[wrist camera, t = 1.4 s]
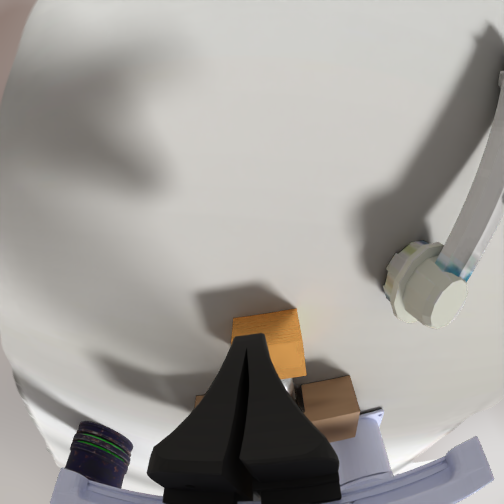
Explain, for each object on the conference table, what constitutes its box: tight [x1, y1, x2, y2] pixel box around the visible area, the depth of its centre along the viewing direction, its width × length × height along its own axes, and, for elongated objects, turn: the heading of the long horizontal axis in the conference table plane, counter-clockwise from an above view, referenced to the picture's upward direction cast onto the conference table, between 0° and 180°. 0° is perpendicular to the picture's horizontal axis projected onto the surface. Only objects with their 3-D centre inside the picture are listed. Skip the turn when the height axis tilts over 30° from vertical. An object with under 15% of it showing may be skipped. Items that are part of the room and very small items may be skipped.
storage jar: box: [65, 421, 133, 489], centre depth 28 cm, size 10×10×15 cm
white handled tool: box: [383, 71, 504, 329], centre depth 15 cm, size 5×7×25 cm
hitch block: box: [194, 375, 360, 443], centre depth 26 cm, size 6×16×5 cm, turn 101°
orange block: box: [231, 309, 306, 404], centre depth 23 cm, size 12×5×4 cm, turn 11°
